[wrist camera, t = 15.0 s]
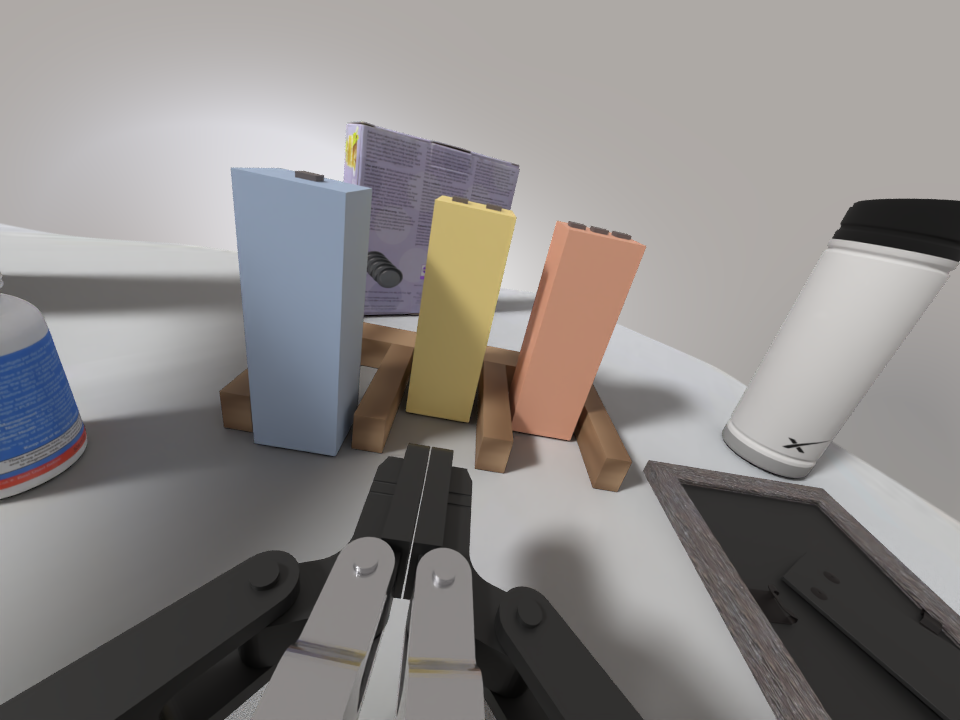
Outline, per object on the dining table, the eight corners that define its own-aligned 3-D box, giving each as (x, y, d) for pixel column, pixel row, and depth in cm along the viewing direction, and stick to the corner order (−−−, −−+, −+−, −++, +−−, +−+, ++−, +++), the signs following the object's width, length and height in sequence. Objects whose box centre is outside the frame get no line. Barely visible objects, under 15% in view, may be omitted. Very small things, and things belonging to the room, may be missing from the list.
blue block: (254, 443, 21) (230, 160, 15) (289, 401, 25) (282, 162, 18) (335, 456, 21) (345, 186, 15) (358, 413, 25) (373, 182, 19)
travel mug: (801, 493, 27) (1018, 195, 19) (708, 440, 31) (852, 180, 23) (819, 468, 31) (1005, 212, 23) (735, 424, 35) (865, 196, 27)
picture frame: (1266, 967, 12) (809, 503, 28) (1346, 956, 11) (826, 484, 27) (887, 953, 10) (639, 476, 26) (941, 939, 10) (651, 455, 26)
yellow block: (405, 411, 26) (435, 194, 20) (415, 381, 30) (443, 191, 24) (468, 422, 27) (517, 213, 20) (470, 391, 31) (512, 206, 24)
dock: (224, 427, 22) (219, 391, 21) (313, 338, 33) (313, 312, 32) (617, 491, 24) (632, 461, 23) (574, 387, 35) (582, 364, 34)
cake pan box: (476, 299, 53) (504, 160, 45) (496, 313, 49) (531, 164, 42) (334, 301, 42) (340, 117, 34) (348, 319, 39) (358, 119, 31)
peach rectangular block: (509, 430, 27) (570, 224, 21) (506, 398, 31) (557, 216, 24) (569, 440, 27) (648, 242, 21) (559, 407, 31) (623, 231, 25)
